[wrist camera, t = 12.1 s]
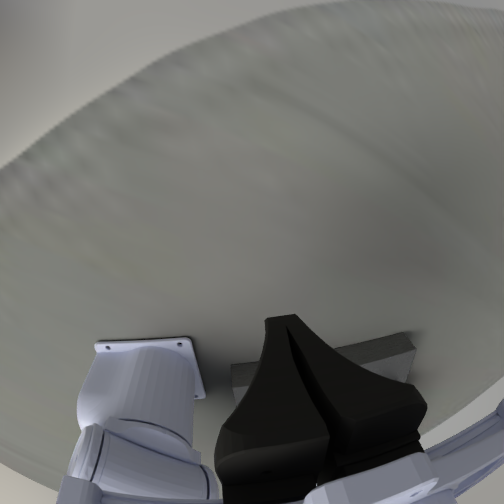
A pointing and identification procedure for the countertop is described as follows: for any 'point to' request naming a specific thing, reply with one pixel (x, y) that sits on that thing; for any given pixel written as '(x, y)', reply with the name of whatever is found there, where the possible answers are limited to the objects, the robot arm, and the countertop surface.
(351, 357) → the plate
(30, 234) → the countertop surface
